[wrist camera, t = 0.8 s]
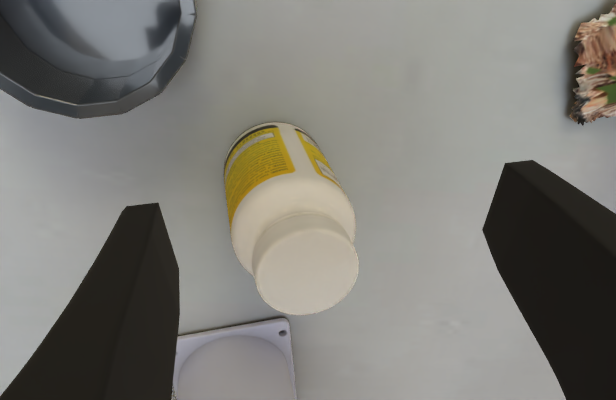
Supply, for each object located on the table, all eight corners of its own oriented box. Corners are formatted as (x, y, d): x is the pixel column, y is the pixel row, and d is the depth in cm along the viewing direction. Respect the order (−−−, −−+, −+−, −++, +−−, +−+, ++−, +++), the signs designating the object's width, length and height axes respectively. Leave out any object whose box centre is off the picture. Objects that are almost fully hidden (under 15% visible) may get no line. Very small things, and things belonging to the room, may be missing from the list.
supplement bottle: (214, 203, 27) (221, 324, 18) (234, 110, 25) (253, 199, 16) (306, 217, 28) (352, 335, 20) (333, 131, 26) (398, 222, 18)
